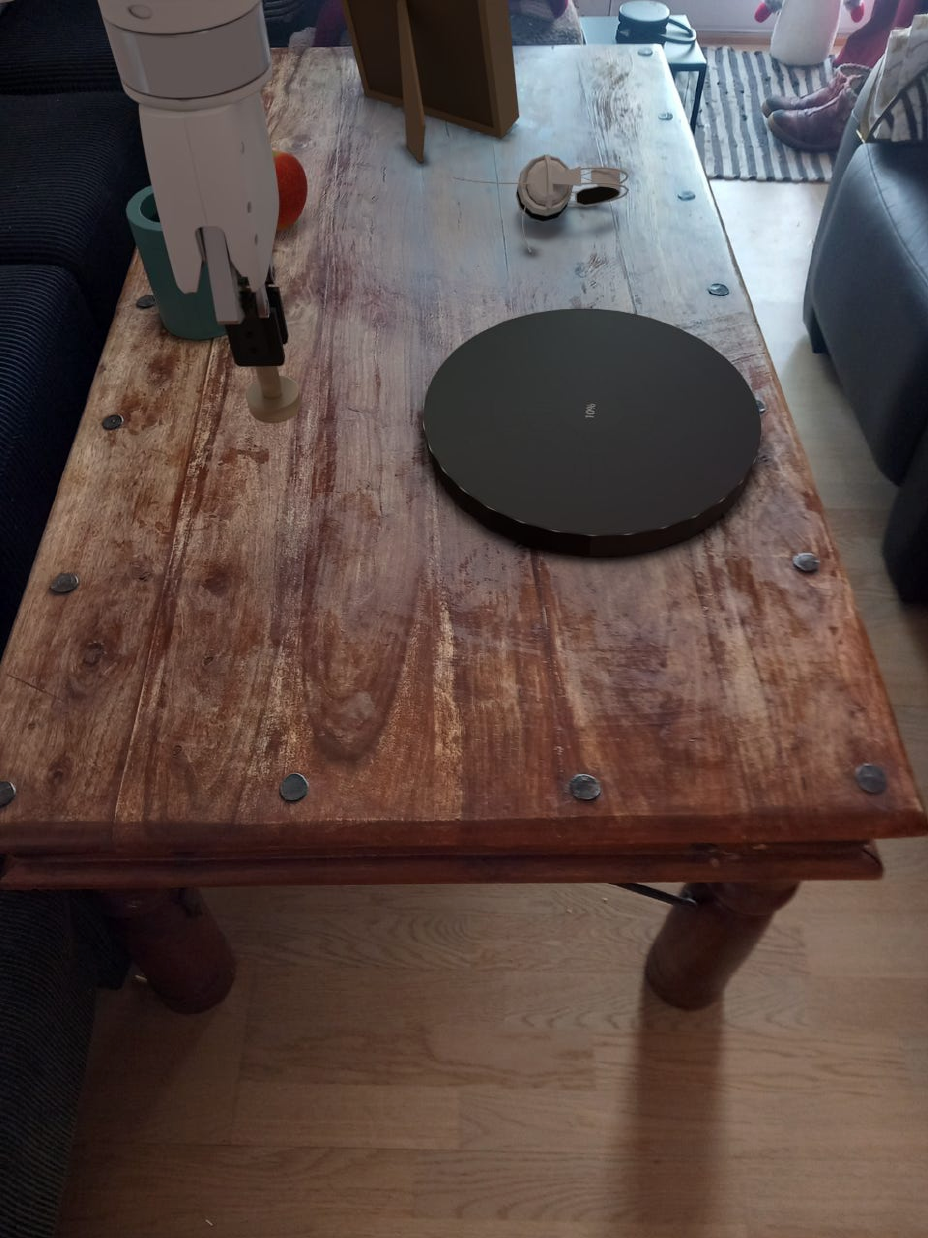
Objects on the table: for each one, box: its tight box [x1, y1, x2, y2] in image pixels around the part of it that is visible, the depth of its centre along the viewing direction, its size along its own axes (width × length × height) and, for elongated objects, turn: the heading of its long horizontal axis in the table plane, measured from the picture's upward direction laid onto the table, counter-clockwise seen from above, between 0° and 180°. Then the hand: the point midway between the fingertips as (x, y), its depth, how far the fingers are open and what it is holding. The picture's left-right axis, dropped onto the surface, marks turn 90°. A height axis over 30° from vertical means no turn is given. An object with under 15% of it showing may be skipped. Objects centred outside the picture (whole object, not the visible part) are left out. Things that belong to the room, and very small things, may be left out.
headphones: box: [452, 154, 630, 254], centre depth 101 cm, size 8×10×20 cm
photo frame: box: [340, 0, 520, 163], centre depth 108 cm, size 15×22×25 cm
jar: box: [125, 184, 227, 341], centre depth 91 cm, size 9×9×12 cm
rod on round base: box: [238, 286, 303, 424], centre depth 59 cm, size 4×4×10 cm
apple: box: [272, 149, 309, 233], centre depth 102 cm, size 8×8×10 cm
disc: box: [422, 307, 762, 558], centre depth 83 cm, size 30×30×3 cm
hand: (262, 351), depth 60 cm, fingers closed on rod on round base, 1 cm apart
